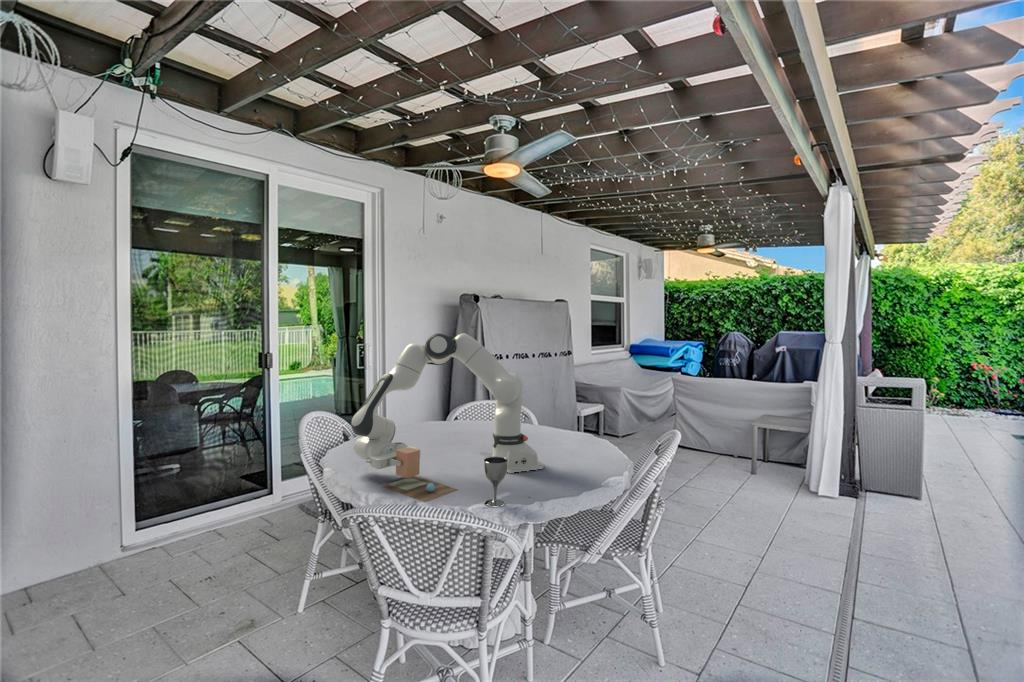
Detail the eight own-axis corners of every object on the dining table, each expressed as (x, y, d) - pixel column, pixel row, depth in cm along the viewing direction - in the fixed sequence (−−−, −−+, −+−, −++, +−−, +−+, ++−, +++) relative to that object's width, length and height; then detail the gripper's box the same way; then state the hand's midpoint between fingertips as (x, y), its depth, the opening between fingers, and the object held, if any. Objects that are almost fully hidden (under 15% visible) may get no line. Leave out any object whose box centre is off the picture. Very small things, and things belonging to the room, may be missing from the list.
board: (458, 492, 185) (458, 489, 185) (425, 504, 172) (425, 501, 172) (413, 478, 199) (413, 475, 199) (380, 488, 187) (380, 485, 187)
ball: (434, 489, 184) (434, 481, 184) (435, 492, 181) (435, 484, 181) (426, 490, 183) (426, 482, 183) (426, 493, 180) (426, 484, 180)
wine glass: (507, 507, 171) (508, 463, 170) (483, 508, 170) (484, 463, 170) (506, 499, 179) (506, 456, 178) (483, 499, 178) (483, 456, 178)
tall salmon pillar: (408, 470, 193) (408, 447, 193) (419, 474, 190) (419, 450, 189) (395, 474, 189) (396, 450, 188) (406, 478, 185) (407, 453, 185)
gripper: (362, 451, 189) (386, 459, 180) (406, 441, 205) (430, 447, 196) (362, 468, 189) (386, 476, 180) (405, 457, 205) (429, 464, 197)
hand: (409, 461), depth 188 cm, fingers closed on tall salmon pillar, 6 cm apart
